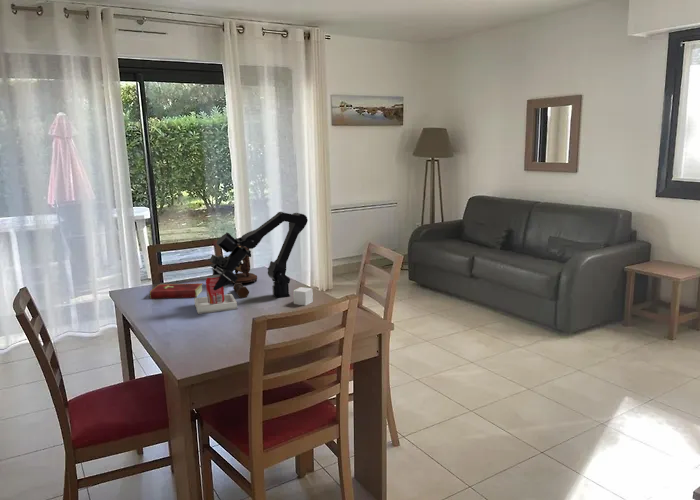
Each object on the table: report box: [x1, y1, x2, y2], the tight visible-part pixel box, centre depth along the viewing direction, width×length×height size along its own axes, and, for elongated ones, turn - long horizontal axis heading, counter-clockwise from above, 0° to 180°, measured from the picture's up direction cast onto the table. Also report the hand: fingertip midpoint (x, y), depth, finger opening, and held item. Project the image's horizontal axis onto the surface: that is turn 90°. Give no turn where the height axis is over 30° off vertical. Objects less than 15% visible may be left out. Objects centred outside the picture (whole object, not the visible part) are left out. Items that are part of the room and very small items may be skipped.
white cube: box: [292, 286, 314, 306], centre depth 230 cm, size 6×6×6 cm
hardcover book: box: [149, 282, 204, 300], centre depth 248 cm, size 12×21×4 cm, turn 91°
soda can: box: [205, 274, 225, 305], centre depth 226 cm, size 7×7×12 cm
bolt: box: [232, 283, 250, 299], centre depth 246 cm, size 6×5×15 cm
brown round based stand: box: [231, 244, 258, 284], centre depth 266 cm, size 15×15×20 cm
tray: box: [194, 293, 238, 315], centre depth 227 cm, size 16×14×3 cm
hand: (211, 288), depth 225 cm, fingers closed on soda can, 7 cm apart
